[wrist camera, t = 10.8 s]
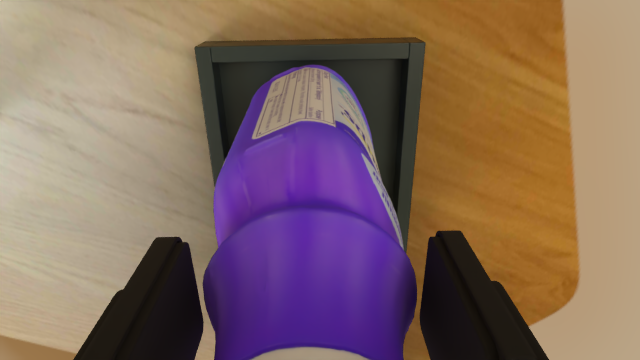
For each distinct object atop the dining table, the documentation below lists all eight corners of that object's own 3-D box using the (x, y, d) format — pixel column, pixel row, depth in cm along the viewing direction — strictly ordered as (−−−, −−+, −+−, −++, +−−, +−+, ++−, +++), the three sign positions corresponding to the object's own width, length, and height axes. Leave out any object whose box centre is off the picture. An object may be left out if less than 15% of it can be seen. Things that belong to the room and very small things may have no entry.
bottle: (384, 162, 23) (514, 543, 8) (295, 196, 24) (257, 592, 9) (336, 41, 20) (399, 284, 5) (236, 86, 21) (24, 405, 6)
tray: (416, 37, 22) (425, 42, 20) (391, 339, 32) (396, 361, 30) (204, 41, 22) (194, 46, 20) (244, 342, 32) (240, 365, 30)
